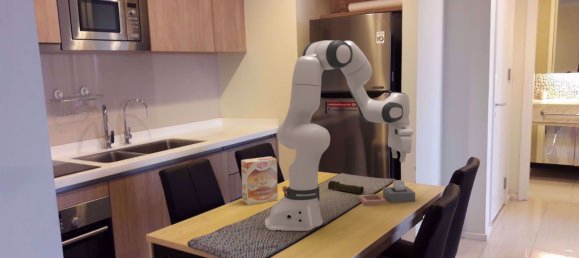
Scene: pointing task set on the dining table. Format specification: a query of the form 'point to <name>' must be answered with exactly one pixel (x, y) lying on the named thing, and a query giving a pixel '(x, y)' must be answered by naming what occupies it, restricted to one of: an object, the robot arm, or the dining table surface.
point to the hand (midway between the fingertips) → (398, 159)
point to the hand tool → (345, 187)
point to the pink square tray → (372, 200)
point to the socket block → (398, 195)
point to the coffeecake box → (259, 180)
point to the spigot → (398, 186)
